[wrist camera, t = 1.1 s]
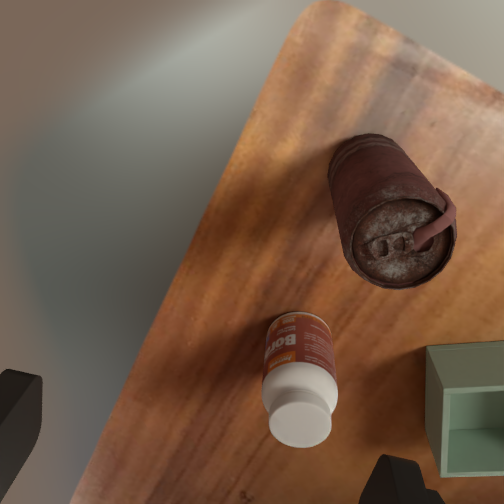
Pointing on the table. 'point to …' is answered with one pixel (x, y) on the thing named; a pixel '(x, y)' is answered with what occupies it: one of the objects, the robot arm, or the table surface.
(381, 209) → the can
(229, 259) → the table surface
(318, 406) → the pill bottle
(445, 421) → the green tray box
